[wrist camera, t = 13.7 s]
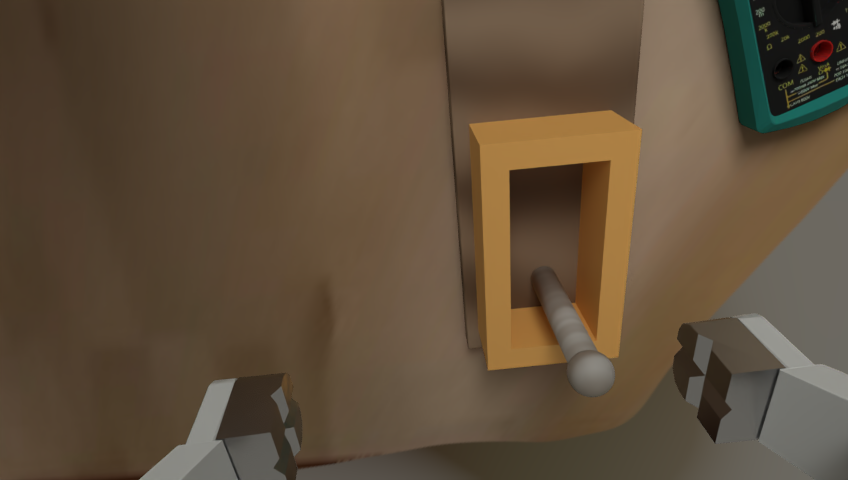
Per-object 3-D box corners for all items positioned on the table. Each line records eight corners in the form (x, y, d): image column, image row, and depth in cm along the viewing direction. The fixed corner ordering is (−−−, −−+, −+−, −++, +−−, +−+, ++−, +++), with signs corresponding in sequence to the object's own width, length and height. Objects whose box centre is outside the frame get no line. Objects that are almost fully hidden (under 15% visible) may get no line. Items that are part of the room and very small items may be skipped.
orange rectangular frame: (469, 123, 29) (479, 145, 25) (611, 110, 29) (642, 129, 25) (478, 330, 35) (488, 370, 31) (595, 318, 35) (618, 357, 32)
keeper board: (440, -12, 27) (470, -3, 17) (634, -33, 27) (784, -36, 17) (466, 335, 37) (494, 475, 27) (607, 319, 37) (691, 453, 27)
